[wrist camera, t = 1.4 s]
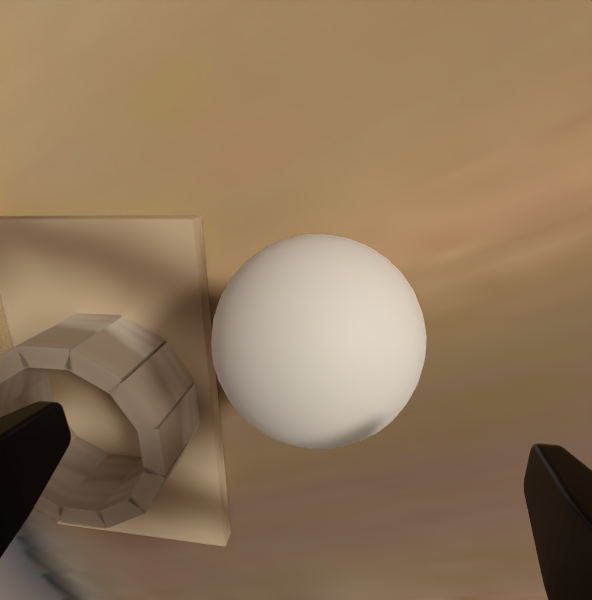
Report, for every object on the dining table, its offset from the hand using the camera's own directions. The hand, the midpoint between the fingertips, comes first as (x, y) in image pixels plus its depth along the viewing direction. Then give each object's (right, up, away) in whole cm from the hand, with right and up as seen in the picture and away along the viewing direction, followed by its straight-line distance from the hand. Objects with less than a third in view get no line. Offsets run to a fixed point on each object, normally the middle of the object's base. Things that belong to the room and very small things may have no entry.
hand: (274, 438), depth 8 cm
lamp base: (-9, -2, +16) cm, 19 cm away
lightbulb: (+2, +4, +12) cm, 13 cm away
